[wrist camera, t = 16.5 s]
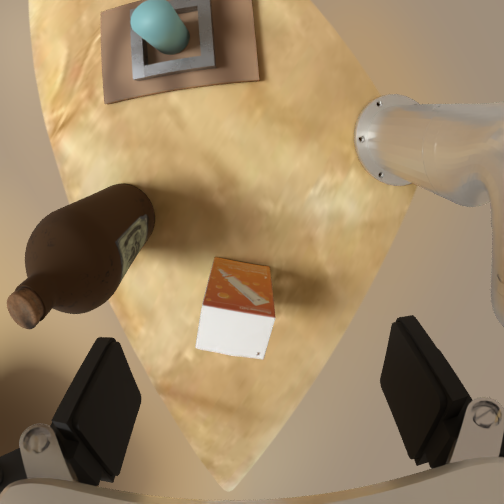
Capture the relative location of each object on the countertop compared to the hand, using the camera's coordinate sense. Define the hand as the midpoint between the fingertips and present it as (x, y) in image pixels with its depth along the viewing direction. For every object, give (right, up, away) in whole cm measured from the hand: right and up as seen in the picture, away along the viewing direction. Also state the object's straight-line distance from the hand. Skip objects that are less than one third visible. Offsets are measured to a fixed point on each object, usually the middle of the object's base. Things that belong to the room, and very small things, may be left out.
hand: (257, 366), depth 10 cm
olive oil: (-18, +9, +33) cm, 38 cm away
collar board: (-10, +31, +23) cm, 40 cm away
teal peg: (-10, +30, +22) cm, 39 cm away
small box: (-2, 0, +36) cm, 37 cm away
